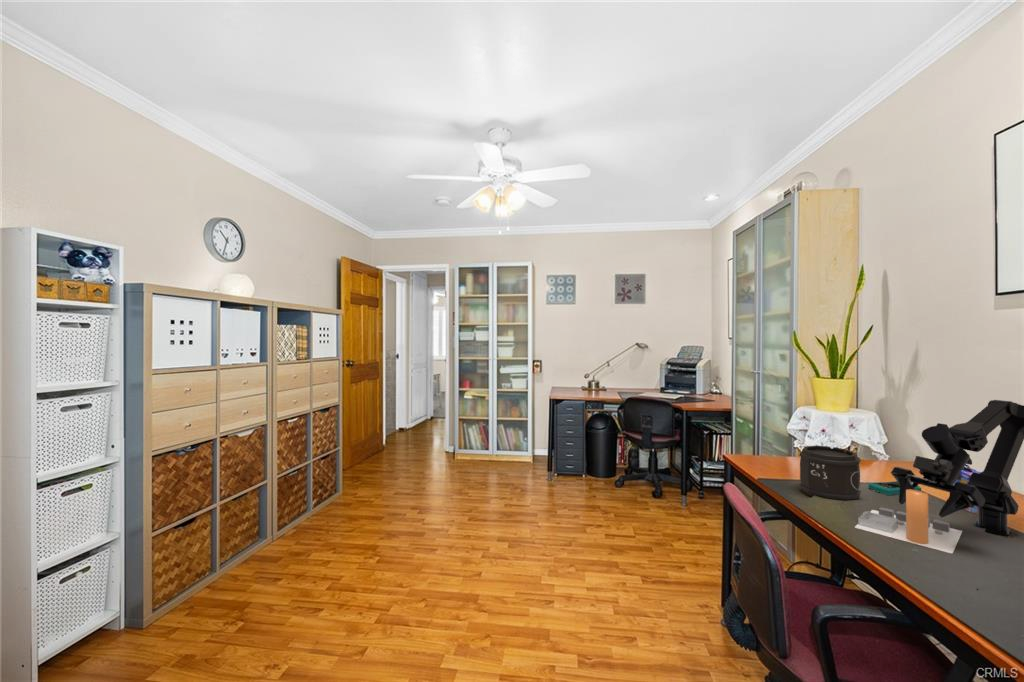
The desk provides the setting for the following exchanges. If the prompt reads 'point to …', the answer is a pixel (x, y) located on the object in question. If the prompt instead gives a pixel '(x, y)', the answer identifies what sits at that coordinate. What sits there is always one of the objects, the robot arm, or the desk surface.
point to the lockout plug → (917, 516)
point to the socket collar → (878, 522)
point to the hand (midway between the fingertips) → (919, 509)
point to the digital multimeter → (888, 487)
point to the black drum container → (830, 472)
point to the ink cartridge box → (965, 479)
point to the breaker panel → (937, 532)
